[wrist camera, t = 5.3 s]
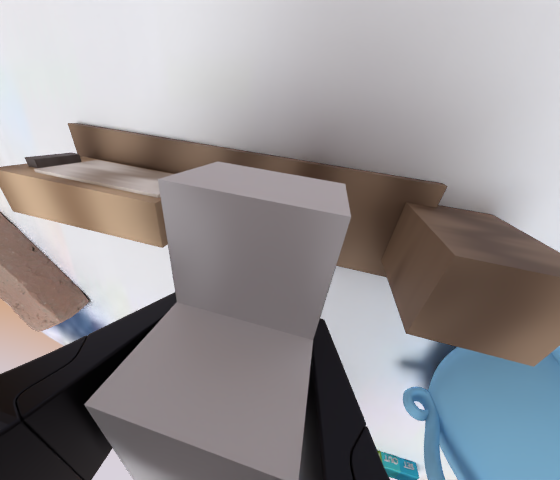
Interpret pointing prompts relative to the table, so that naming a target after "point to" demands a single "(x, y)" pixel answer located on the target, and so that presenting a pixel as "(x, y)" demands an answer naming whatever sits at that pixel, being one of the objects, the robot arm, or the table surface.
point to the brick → (34, 282)
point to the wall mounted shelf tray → (89, 195)
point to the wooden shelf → (403, 247)
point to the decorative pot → (491, 417)
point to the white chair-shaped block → (229, 328)
